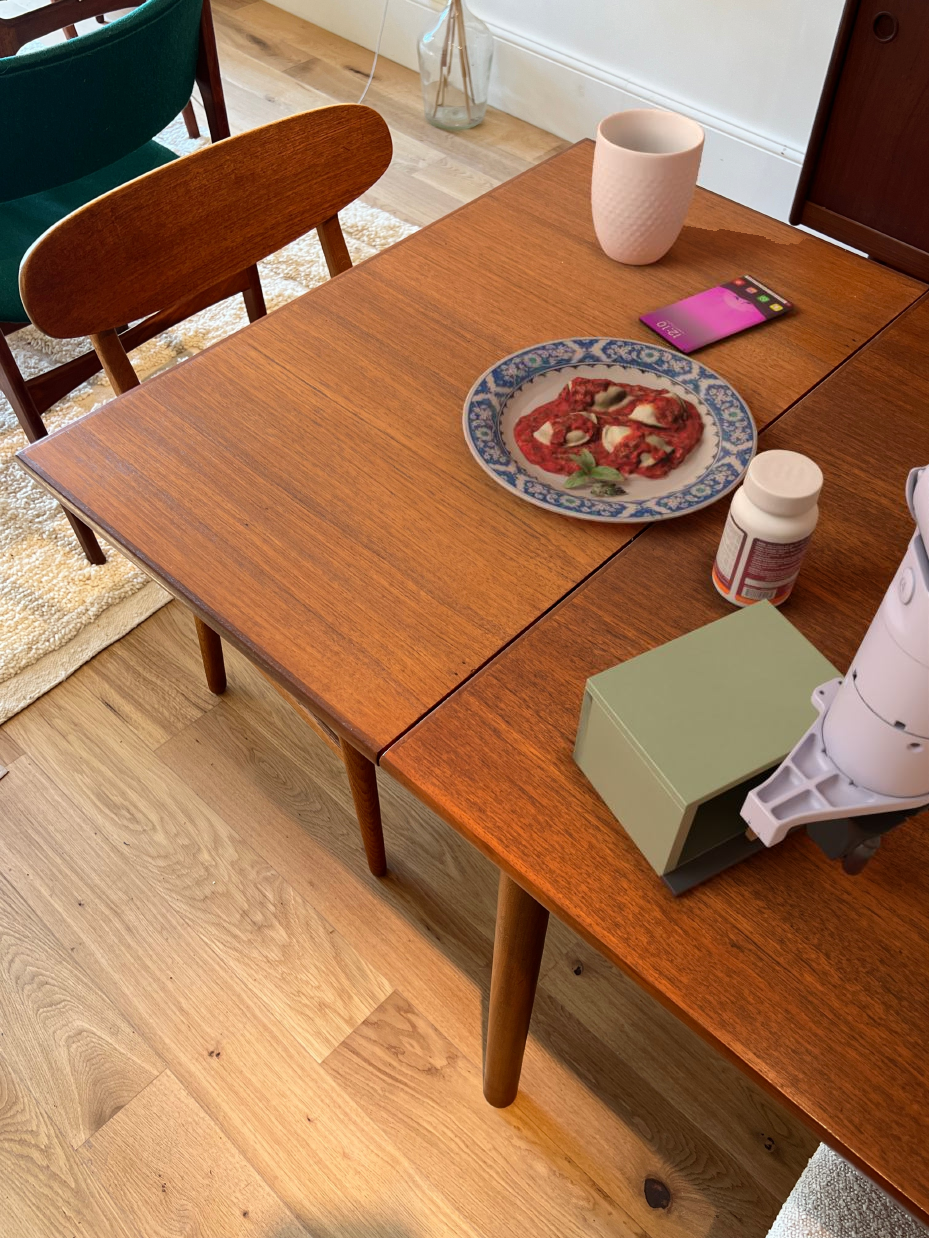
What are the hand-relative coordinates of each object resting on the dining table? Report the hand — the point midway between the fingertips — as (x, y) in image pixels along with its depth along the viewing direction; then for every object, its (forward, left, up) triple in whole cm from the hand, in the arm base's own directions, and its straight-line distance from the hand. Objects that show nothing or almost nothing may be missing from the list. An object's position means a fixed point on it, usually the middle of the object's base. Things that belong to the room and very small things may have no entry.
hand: (828, 840), depth 53 cm
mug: (+70, -38, -10) cm, 80 cm away
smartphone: (+54, -37, -9) cm, 66 cm away
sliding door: (+2, -5, -8) cm, 10 cm away
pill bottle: (+22, -16, -10) cm, 29 cm away
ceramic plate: (+42, -16, -10) cm, 46 cm away
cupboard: (+10, -2, -9) cm, 14 cm away
